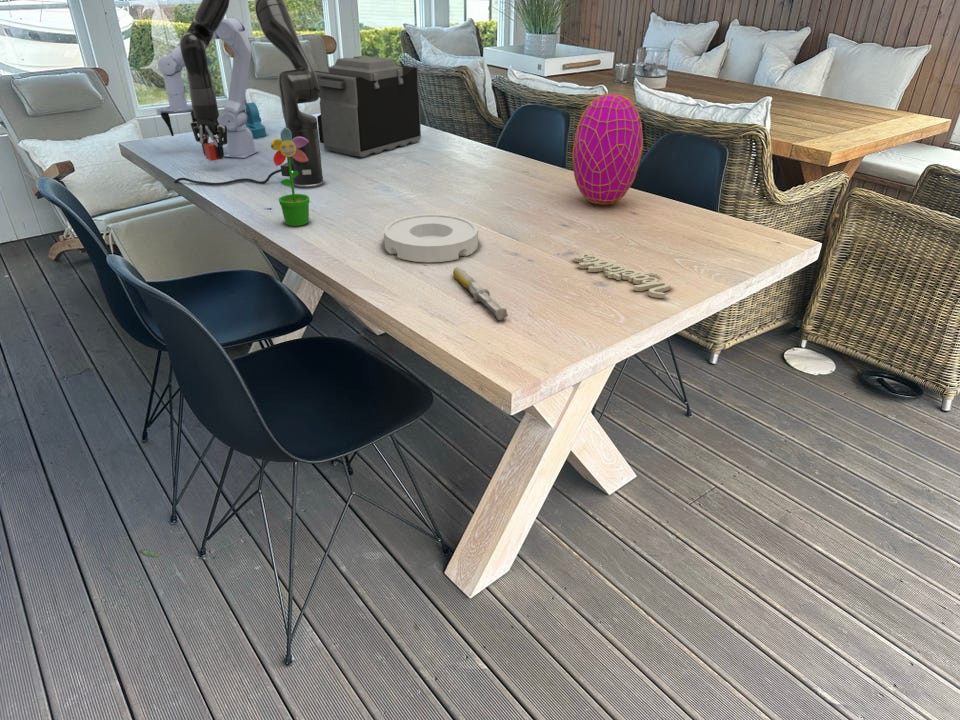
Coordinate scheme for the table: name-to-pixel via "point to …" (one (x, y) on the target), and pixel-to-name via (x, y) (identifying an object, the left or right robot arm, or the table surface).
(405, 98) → the cooler box
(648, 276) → the decorative sign
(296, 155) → the potted flower
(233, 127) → the left robot arm
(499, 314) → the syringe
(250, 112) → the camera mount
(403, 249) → the ashtray
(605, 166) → the decorative egg
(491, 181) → the table surface
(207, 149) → the block
